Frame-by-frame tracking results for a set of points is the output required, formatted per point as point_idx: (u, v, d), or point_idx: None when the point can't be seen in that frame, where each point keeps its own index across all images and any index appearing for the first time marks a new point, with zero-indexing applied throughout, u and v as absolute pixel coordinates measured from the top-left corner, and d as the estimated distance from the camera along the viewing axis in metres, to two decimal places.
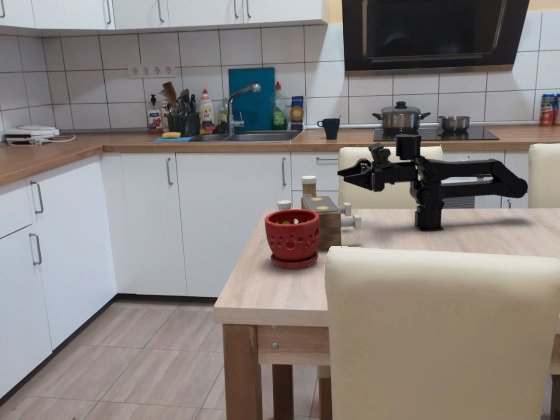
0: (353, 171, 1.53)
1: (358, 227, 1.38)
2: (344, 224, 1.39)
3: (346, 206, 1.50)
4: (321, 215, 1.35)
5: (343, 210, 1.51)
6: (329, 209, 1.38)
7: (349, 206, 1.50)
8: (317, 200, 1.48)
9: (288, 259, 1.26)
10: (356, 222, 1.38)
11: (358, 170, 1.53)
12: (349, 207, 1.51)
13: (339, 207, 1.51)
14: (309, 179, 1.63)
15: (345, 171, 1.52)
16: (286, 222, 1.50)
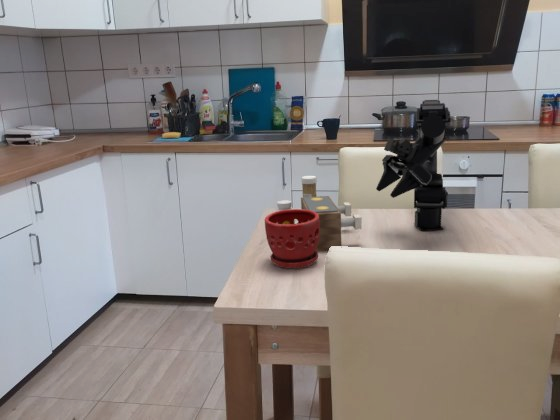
0: (388, 176, 1.43)
1: (358, 227, 1.38)
2: (344, 224, 1.39)
3: (346, 206, 1.50)
4: (321, 215, 1.35)
5: (343, 210, 1.51)
6: (329, 209, 1.38)
7: (349, 206, 1.50)
8: (317, 200, 1.48)
9: (288, 259, 1.26)
10: (356, 222, 1.38)
11: (391, 171, 1.43)
12: (349, 207, 1.51)
13: (339, 207, 1.51)
14: (309, 179, 1.63)
15: (382, 182, 1.43)
16: (286, 222, 1.50)
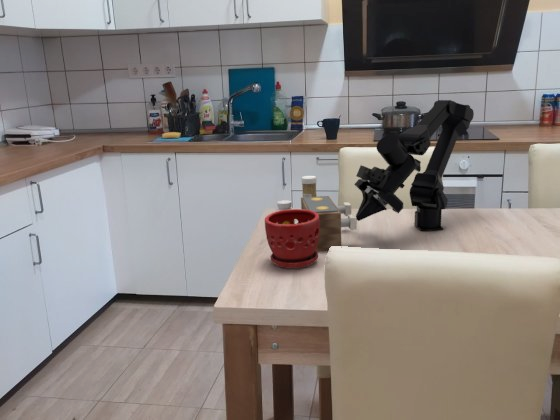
0: None
1: (353, 227, 1.38)
2: None
3: (346, 206, 1.50)
4: (321, 215, 1.35)
5: (343, 210, 1.51)
6: (329, 209, 1.38)
7: (349, 206, 1.50)
8: (317, 200, 1.48)
9: (288, 259, 1.26)
10: (351, 222, 1.38)
11: None
12: (349, 207, 1.51)
13: (339, 207, 1.51)
14: (309, 179, 1.63)
15: None
16: (286, 222, 1.50)
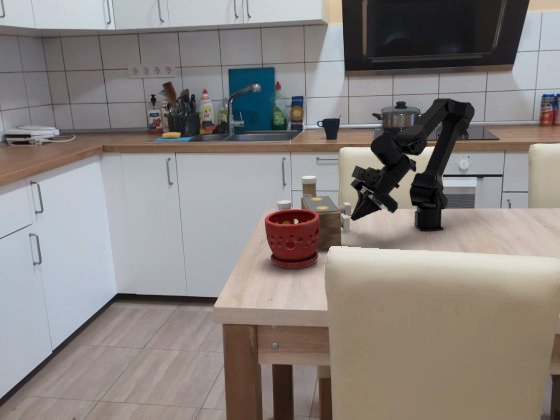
0: None
1: (346, 228, 1.38)
2: None
3: (346, 206, 1.50)
4: (321, 215, 1.35)
5: (343, 210, 1.51)
6: (329, 209, 1.38)
7: (349, 206, 1.50)
8: (317, 200, 1.48)
9: (288, 259, 1.26)
10: (344, 223, 1.38)
11: None
12: (349, 207, 1.51)
13: (339, 207, 1.51)
14: (309, 179, 1.63)
15: None
16: (286, 222, 1.50)
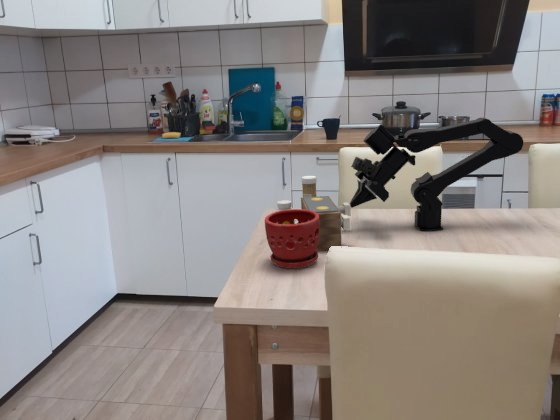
0: None
1: (346, 228, 1.38)
2: None
3: (345, 206, 1.50)
4: (321, 215, 1.35)
5: (342, 210, 1.51)
6: (329, 209, 1.38)
7: (348, 206, 1.50)
8: (317, 200, 1.48)
9: (288, 259, 1.26)
10: (344, 223, 1.38)
11: None
12: (348, 207, 1.50)
13: (338, 207, 1.51)
14: (309, 179, 1.63)
15: None
16: (286, 222, 1.50)
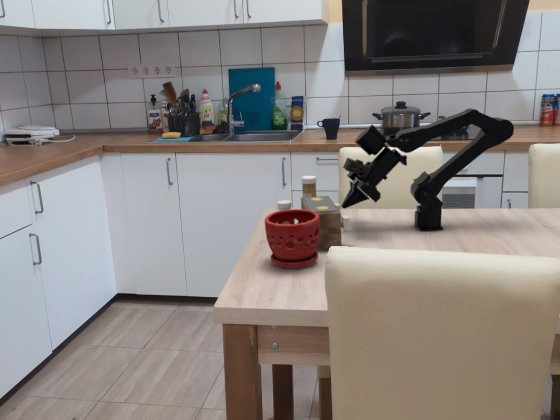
0: None
1: (346, 228, 1.38)
2: None
3: None
4: (321, 215, 1.35)
5: None
6: (329, 209, 1.38)
7: (338, 207, 1.50)
8: (317, 200, 1.48)
9: (288, 259, 1.26)
10: (344, 223, 1.38)
11: None
12: (338, 208, 1.50)
13: None
14: (309, 179, 1.63)
15: None
16: (286, 222, 1.50)
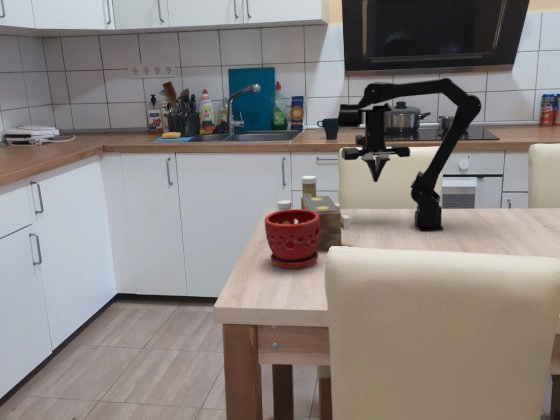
0: (377, 165, 1.54)
1: (346, 228, 1.38)
2: None
3: None
4: (321, 215, 1.35)
5: None
6: (329, 209, 1.38)
7: (338, 207, 1.50)
8: (317, 200, 1.48)
9: (288, 259, 1.26)
10: (344, 223, 1.38)
11: (377, 160, 1.54)
12: (338, 208, 1.50)
13: None
14: (309, 179, 1.63)
15: None
16: (286, 222, 1.50)
